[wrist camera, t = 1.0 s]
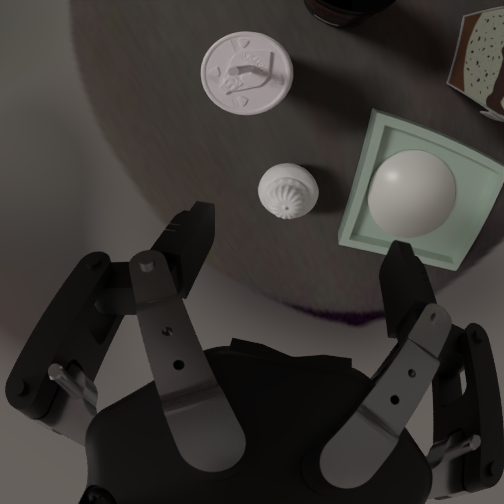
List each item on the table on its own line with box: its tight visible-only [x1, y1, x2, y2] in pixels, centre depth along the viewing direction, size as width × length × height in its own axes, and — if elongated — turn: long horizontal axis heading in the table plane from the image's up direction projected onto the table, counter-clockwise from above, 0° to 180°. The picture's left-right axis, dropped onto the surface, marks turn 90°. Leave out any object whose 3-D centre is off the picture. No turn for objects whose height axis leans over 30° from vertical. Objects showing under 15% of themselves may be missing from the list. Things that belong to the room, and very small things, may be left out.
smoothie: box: [201, 32, 293, 115], centre depth 18 cm, size 6×6×14 cm
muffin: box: [258, 163, 319, 219], centre depth 28 cm, size 6×6×7 cm
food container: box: [446, 6, 504, 122], centre depth 12 cm, size 12×6×10 cm, turn 170°
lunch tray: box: [338, 108, 504, 271], centre depth 26 cm, size 16×18×2 cm
